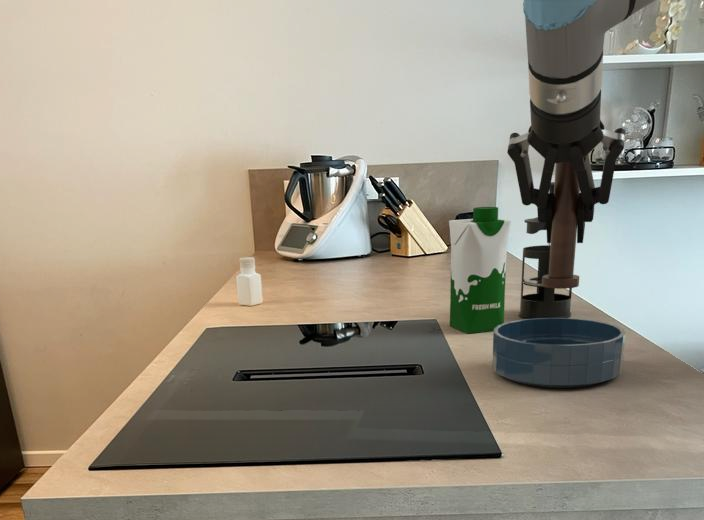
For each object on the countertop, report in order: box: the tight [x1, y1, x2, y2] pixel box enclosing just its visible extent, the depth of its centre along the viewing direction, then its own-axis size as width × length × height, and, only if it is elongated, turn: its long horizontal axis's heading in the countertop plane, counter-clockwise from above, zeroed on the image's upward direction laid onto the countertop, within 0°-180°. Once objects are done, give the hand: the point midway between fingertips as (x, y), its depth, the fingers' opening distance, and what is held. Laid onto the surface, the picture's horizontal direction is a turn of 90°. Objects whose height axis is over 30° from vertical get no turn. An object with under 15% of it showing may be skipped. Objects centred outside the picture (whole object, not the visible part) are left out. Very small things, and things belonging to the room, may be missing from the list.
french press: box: [518, 181, 573, 319], centre depth 140 cm, size 12×9×23 cm
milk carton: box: [448, 206, 512, 334], centre depth 133 cm, size 9×9×20 cm
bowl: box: [491, 317, 627, 389], centre depth 108 cm, size 17×17×6 cm
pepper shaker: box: [235, 256, 264, 307], centre depth 164 cm, size 4×4×10 cm
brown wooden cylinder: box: [542, 162, 581, 290], centre depth 102 cm, size 5×5×16 cm
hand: (565, 234), depth 106 cm, fingers closed on brown wooden cylinder, 3 cm apart
